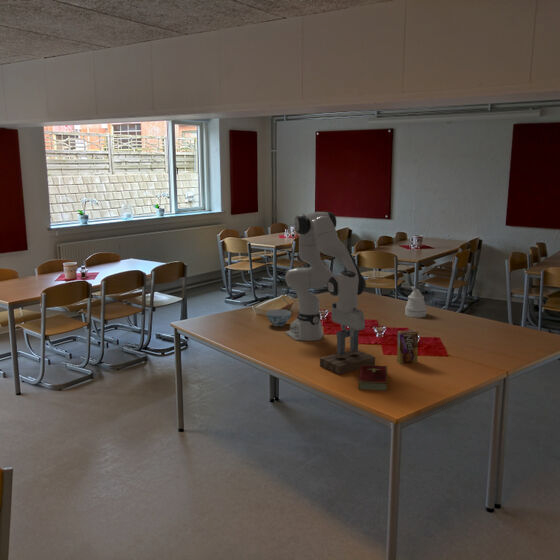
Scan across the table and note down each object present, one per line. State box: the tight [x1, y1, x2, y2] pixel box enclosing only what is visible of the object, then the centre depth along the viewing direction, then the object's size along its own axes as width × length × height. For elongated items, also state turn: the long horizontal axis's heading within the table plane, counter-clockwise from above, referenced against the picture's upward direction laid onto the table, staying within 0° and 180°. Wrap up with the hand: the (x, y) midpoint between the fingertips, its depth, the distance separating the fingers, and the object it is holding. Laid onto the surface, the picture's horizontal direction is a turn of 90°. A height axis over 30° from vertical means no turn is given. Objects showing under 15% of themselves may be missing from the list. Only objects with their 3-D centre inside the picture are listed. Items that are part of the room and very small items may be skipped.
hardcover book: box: [357, 364, 389, 391], centre depth 244 cm, size 12×21×4 cm, turn 170°
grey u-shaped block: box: [336, 328, 360, 355], centre depth 262 cm, size 3×11×10 cm, turn 123°
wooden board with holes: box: [319, 349, 376, 375], centre depth 264 cm, size 14×22×4 cm, turn 123°
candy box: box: [396, 329, 419, 365], centre depth 266 cm, size 9×4×15 cm, turn 96°
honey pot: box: [404, 286, 427, 318], centre depth 352 cm, size 13×13×18 cm
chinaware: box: [265, 309, 292, 327], centre depth 334 cm, size 15×15×8 cm
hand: (347, 335), depth 262 cm, fingers closed on grey u-shaped block, 3 cm apart
